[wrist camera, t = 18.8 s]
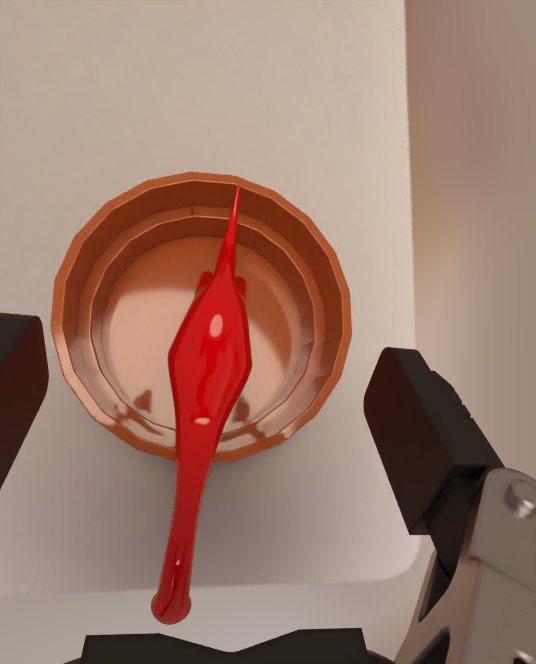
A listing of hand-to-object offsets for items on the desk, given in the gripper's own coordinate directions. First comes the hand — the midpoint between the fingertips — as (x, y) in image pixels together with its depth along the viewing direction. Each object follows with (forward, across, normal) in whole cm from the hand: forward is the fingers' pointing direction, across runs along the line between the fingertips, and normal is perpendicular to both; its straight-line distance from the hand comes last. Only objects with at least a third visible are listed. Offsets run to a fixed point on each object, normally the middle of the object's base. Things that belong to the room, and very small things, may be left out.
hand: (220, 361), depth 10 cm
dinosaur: (+12, 0, -7) cm, 14 cm away
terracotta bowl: (+14, 0, -8) cm, 16 cm away
